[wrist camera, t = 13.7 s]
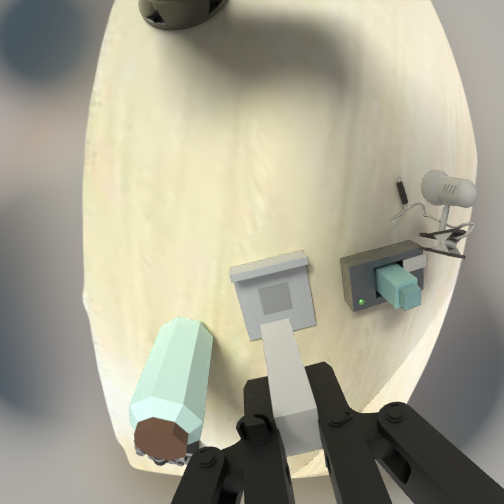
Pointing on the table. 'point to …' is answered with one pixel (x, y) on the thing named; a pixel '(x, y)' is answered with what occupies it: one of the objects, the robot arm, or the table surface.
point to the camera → (181, 461)
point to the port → (362, 271)
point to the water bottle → (172, 390)
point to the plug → (397, 286)
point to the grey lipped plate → (274, 292)
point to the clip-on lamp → (438, 193)
